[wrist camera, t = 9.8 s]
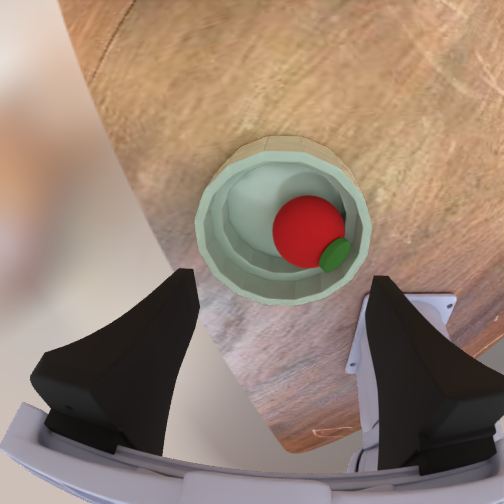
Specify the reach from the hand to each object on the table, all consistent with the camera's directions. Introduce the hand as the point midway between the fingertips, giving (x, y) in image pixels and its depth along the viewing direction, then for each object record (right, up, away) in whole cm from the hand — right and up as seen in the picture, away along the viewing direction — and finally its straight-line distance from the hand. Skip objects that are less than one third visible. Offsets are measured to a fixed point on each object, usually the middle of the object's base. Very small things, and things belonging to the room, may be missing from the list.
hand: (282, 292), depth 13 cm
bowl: (+1, +4, +7) cm, 8 cm away
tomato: (+1, +4, +6) cm, 7 cm away
